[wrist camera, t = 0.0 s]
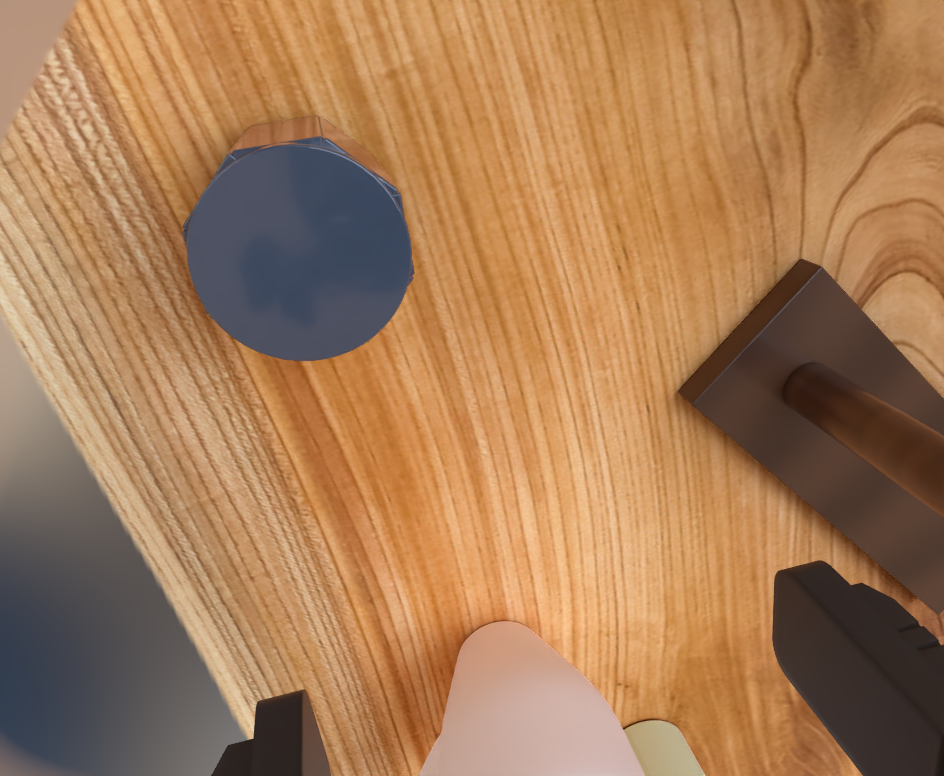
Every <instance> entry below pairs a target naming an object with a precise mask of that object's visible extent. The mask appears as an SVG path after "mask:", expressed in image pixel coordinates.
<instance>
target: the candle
mask: <svg viewBox="0 0 944 776" xmlns="http://www.w3.org/2000/svg"><path fill="white" fill-rule="evenodd" d="M624 732H625V734H626V736H627V739H628V741H629V743H630V745H631V747H632V749H633V751H634V753H635V755H636V757H637V760H638V762H639V764H640V766H641V768H642V770H643V772H644V774H645V776H705V774H704V772H703V770H702V769H701V767H700V765H699V763H698V761H697V760H696V758H695V756H694V754H693V752H692V751H691V749H690V747H689V745H688V744H687V742H686V740H685V738H684V736H683V735H682V733H681V731H680V730H679V729H678V728H677V727H676V726H674V725H673V724H671V723H669V722H665V721H661V720H648V721H644V722H639V723H636V724H634V725H632V726H629V727H627V728H626V729H624Z"/></svg>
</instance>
